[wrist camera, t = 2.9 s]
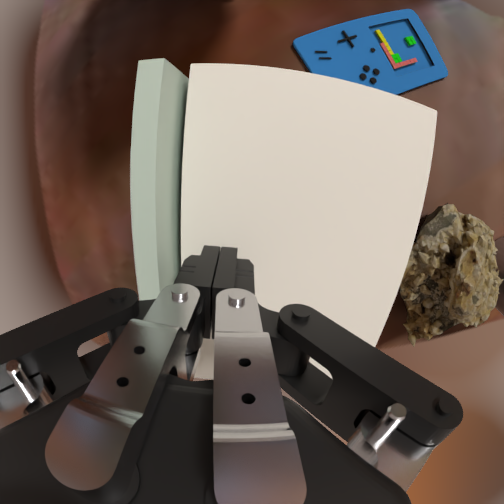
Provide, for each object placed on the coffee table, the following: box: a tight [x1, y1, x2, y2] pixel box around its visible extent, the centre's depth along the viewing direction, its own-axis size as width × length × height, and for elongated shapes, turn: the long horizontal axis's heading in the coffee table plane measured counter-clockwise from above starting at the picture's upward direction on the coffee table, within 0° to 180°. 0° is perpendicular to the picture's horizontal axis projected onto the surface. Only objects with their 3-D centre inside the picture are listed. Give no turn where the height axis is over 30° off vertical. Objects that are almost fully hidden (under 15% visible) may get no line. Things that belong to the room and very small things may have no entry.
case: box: [181, 63, 437, 380], centre depth 19 cm, size 12×18×12 cm, turn 175°
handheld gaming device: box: [293, 9, 448, 95], centre depth 18 cm, size 8×1×15 cm
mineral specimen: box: [400, 203, 504, 347], centre depth 22 cm, size 14×13×10 cm
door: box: [130, 58, 189, 301], centre depth 17 cm, size 2×17×14 cm, turn 175°
